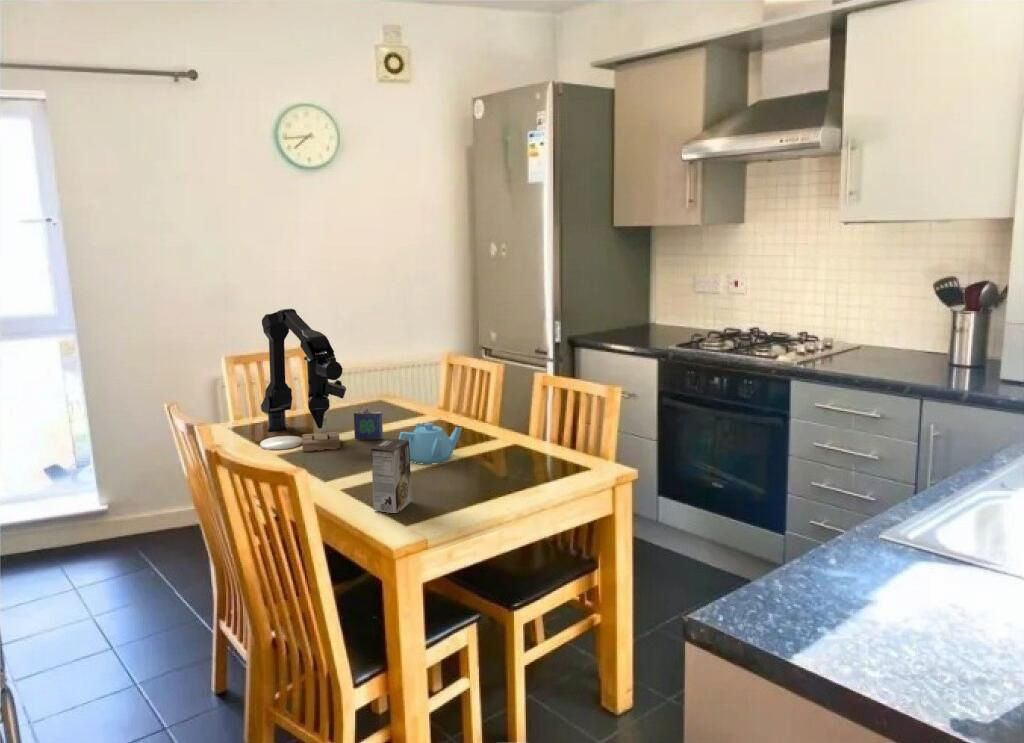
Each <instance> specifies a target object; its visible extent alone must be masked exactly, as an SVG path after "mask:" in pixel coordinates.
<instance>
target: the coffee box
mask: <svg viewBox="0 0 1024 743" xmlns="http://www.w3.org/2000/svg"><path fill="white" fill-rule="evenodd" d="M370 452H371V455H370V457H371V474H372V475H371V476H372V478H371V479H372V498H373V501H372V502H373V504H372V505H373V511H374V510H377V511H382V512H390V513H398V512H399V511H400V512H401V511H402V510H403V509H404V508H406V507H407V506H408V505H410V503H411V502H412V501H413V500H412V498H413V497H412V478H411V477H412V476H411V460H410V449H409V439H408V440H406V439H405V440H400V439H399V438H389V437H387V438H385V439H384V440H383V439H382V440H381V442H379V443H378V444H376V445H374V446H373V447H371V449H370ZM400 512H399V513H400Z"/></svg>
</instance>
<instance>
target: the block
mask: <svg viewBox="0 0 1024 743" xmlns="http://www.w3.org/2000/svg"><path fill="white" fill-rule="evenodd" d="M312 419H313V420H312V421H313V422H312V423H313V434H314V440H325V439H328V438H327V433H328V424H327V423H328V422H327V415H324V419H323V425H322V428H318V426H317V424H316V422H315V420H314V418H313V417H312Z"/></svg>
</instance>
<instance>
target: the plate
mask: <svg viewBox="0 0 1024 743" xmlns="http://www.w3.org/2000/svg"><path fill="white" fill-rule="evenodd" d="M259 444H260V445H259V446H260V448H262V449H264V450H268V449H269V450H271V449H273V450H271V451H279V450H278V449H283V450H289V449H288V448H290V449H294V448H293V447H295V448H298V447H300V446H301V444H302V437H300V436H295V435H279V436H273V437H269V438H266V439H263V440H262V441H261V442H260V443H259ZM299 445H300V446H299ZM297 446H298V447H297ZM274 449H275V450H274ZM276 449H277V450H276Z"/></svg>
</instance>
